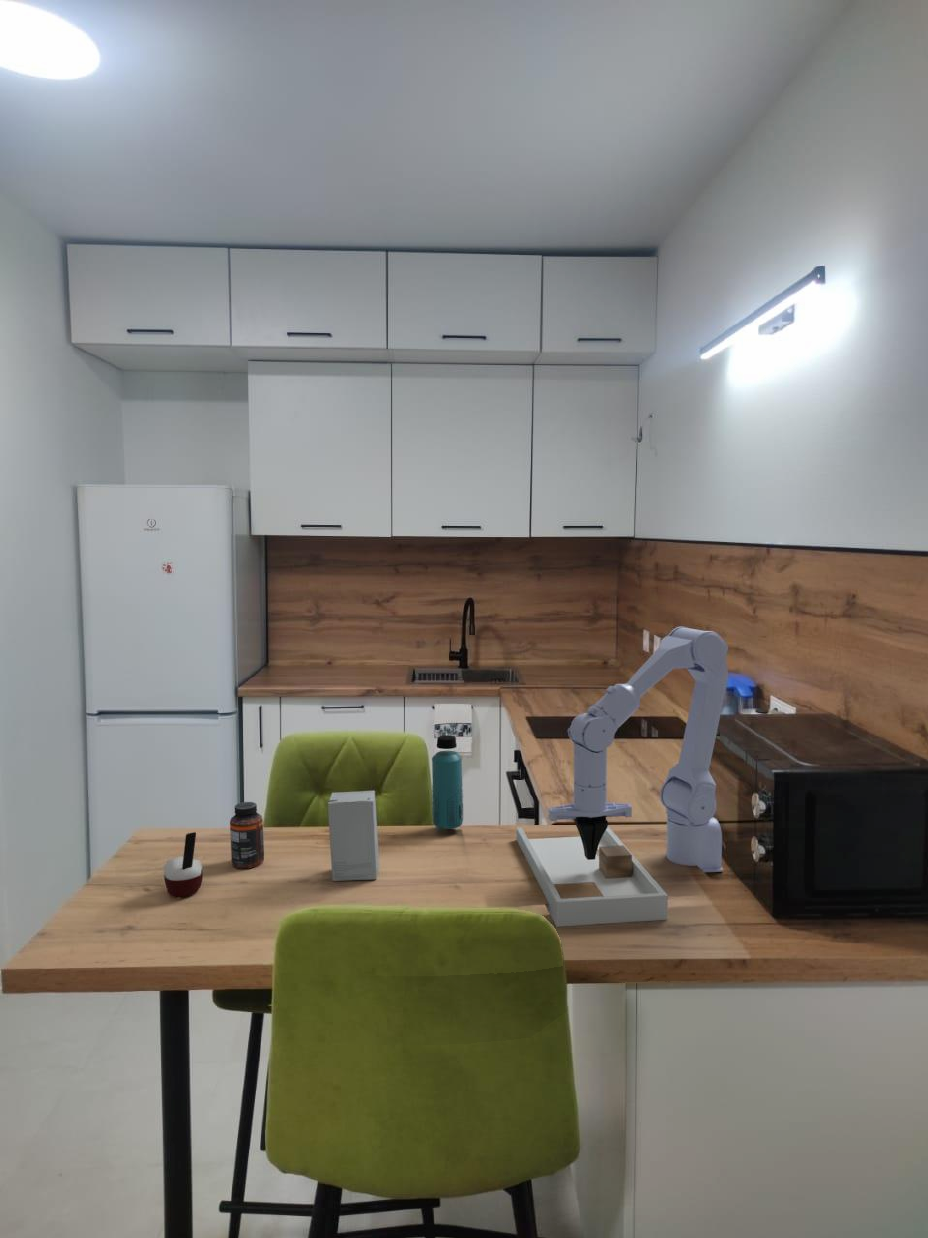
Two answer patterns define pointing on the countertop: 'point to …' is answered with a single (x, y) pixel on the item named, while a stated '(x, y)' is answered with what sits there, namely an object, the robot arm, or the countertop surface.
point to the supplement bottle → (246, 836)
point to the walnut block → (615, 862)
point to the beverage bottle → (447, 785)
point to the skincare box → (353, 836)
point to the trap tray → (570, 865)
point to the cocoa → (184, 871)
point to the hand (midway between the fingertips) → (589, 857)
